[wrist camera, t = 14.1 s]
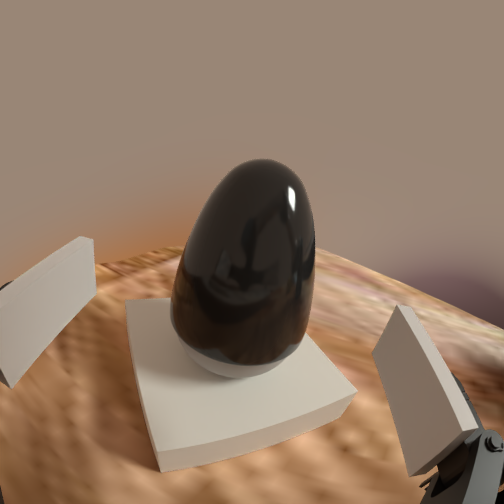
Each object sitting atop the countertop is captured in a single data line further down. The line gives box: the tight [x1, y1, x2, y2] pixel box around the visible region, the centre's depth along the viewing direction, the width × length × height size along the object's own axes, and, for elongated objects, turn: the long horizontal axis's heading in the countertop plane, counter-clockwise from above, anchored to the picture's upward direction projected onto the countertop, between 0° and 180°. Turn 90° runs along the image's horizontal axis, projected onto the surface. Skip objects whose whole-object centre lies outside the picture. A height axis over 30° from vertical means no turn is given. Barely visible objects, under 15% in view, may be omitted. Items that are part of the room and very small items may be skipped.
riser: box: [125, 298, 358, 473], centre depth 24 cm, size 16×16×4 cm
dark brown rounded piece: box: [170, 159, 315, 378], centre depth 20 cm, size 10×10×15 cm
